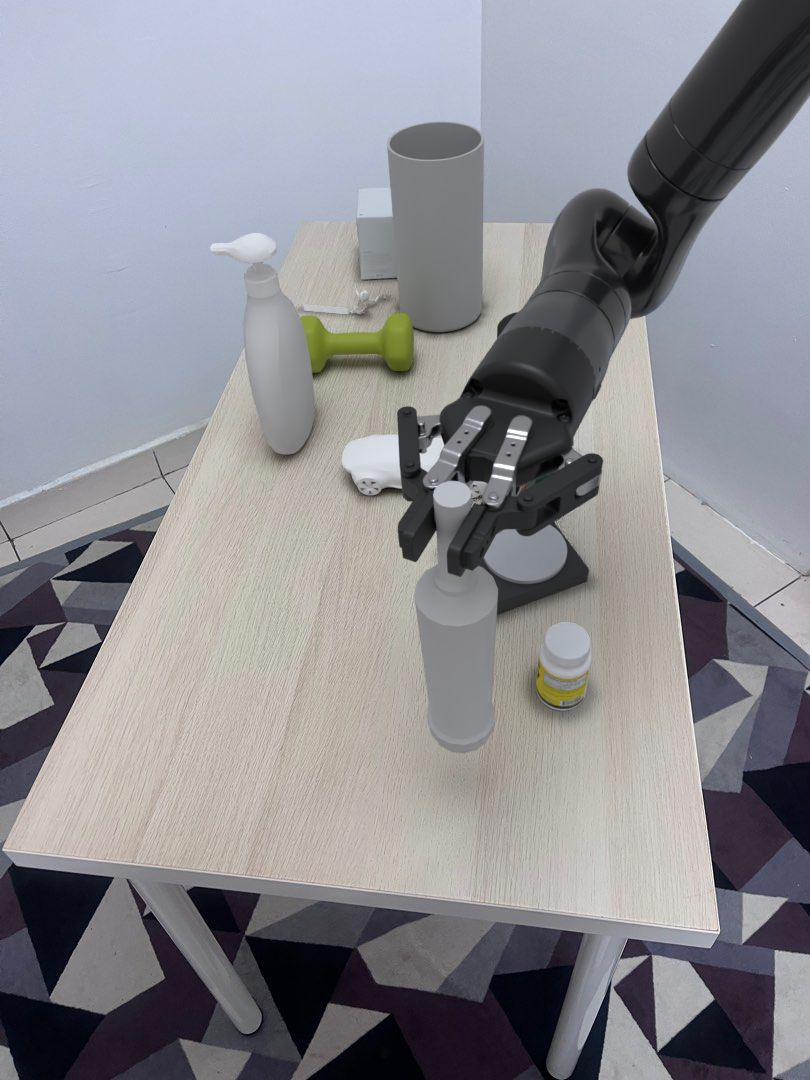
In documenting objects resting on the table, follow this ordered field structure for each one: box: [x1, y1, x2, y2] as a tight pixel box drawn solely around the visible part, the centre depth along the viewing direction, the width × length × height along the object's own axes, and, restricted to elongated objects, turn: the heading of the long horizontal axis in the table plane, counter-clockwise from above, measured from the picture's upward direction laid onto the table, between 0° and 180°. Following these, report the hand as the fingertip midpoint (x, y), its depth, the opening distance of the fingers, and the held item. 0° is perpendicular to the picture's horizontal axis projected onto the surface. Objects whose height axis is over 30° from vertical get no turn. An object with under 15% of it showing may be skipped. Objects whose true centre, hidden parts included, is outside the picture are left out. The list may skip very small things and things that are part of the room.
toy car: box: [341, 433, 488, 499], centre depth 95 cm, size 18×8×4 cm, turn 84°
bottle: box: [413, 481, 498, 754], centre depth 52 cm, size 5×5×25 cm
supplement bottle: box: [535, 621, 593, 712], centre depth 73 cm, size 5×5×8 cm
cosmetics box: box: [355, 186, 397, 281], centre depth 128 cm, size 10×6×10 cm, turn 1°
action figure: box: [302, 283, 387, 315], centre depth 122 cm, size 12×5×7 cm
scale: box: [479, 522, 590, 615], centre depth 85 cm, size 12×10×3 cm
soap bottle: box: [209, 232, 315, 455], centre depth 94 cm, size 14×8×27 cm, turn 172°
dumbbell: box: [300, 312, 415, 374], centre depth 110 cm, size 16×8×7 cm, turn 86°
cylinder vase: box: [386, 120, 485, 333], centre depth 112 cm, size 12×12×25 cm
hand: (431, 557), depth 42 cm, fingers closed on bottle, 2 cm apart
